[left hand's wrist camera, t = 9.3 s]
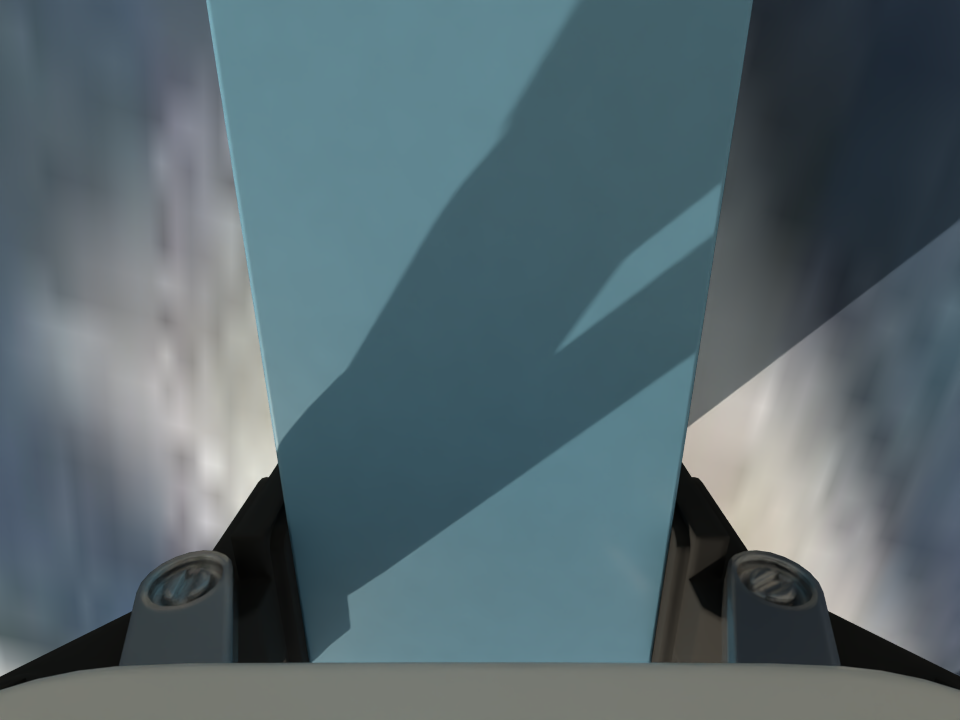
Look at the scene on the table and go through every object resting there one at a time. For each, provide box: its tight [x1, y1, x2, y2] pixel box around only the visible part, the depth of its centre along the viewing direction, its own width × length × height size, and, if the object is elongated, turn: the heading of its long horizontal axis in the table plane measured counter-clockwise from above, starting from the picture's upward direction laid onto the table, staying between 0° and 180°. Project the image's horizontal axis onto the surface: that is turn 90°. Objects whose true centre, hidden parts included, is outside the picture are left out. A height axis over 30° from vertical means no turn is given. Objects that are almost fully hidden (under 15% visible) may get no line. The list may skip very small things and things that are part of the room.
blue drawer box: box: [206, 0, 753, 663], centre depth 11 cm, size 16×6×8 cm, turn 0°
